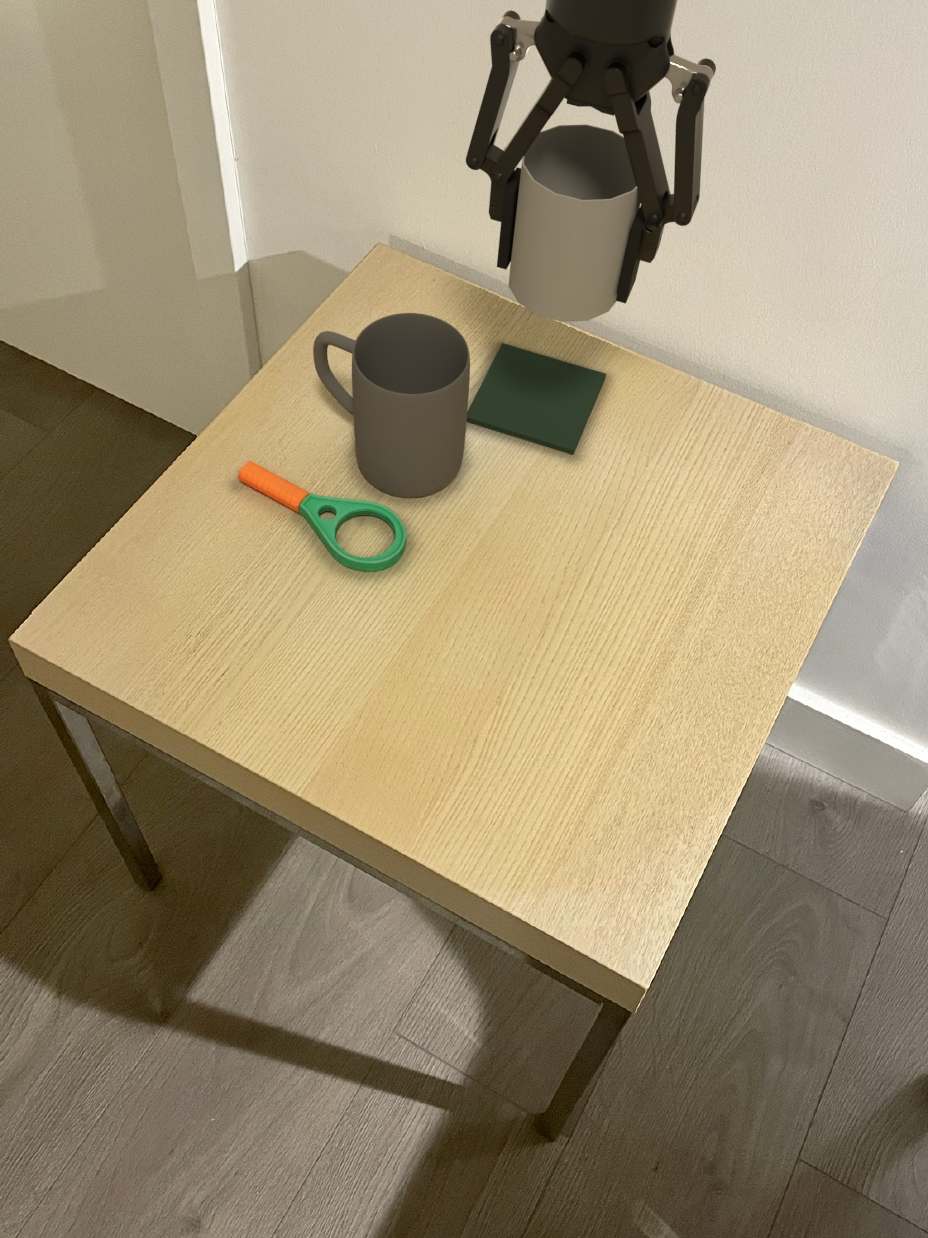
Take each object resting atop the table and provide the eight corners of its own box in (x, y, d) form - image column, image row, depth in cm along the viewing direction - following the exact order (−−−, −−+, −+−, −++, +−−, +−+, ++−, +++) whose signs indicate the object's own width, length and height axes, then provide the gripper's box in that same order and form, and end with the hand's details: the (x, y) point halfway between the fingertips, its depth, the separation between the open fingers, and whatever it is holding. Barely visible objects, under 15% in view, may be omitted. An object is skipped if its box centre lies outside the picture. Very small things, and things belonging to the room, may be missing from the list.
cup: (542, 232, 82) (559, 109, 74) (638, 272, 81) (667, 151, 72) (488, 293, 78) (499, 171, 70) (587, 337, 76) (611, 217, 68)
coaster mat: (605, 378, 97) (606, 373, 97) (573, 455, 92) (574, 450, 92) (501, 347, 99) (502, 342, 98) (464, 421, 94) (464, 416, 93)
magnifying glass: (420, 533, 87) (421, 520, 85) (379, 585, 84) (379, 572, 82) (268, 455, 90) (265, 441, 89) (223, 502, 87) (220, 488, 86)
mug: (482, 446, 92) (493, 339, 82) (428, 517, 88) (432, 413, 78) (348, 384, 95) (343, 274, 85) (289, 450, 91) (276, 342, 81)
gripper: (819, -45, 60) (717, 281, 79) (464, -126, 63) (448, 206, 82) (795, 20, 56) (694, 346, 75) (418, -70, 59) (412, 265, 78)
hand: (566, 273), depth 79 cm, fingers closed on cup, 8 cm apart
